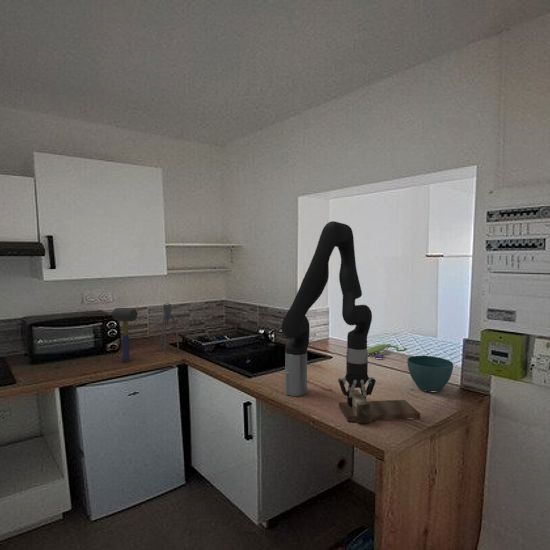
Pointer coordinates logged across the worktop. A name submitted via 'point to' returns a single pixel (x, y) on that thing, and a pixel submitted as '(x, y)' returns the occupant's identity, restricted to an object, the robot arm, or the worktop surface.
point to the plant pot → (430, 372)
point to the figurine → (381, 347)
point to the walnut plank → (383, 410)
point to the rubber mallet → (125, 327)
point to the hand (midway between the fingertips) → (356, 405)
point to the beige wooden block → (360, 407)
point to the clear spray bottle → (166, 317)
